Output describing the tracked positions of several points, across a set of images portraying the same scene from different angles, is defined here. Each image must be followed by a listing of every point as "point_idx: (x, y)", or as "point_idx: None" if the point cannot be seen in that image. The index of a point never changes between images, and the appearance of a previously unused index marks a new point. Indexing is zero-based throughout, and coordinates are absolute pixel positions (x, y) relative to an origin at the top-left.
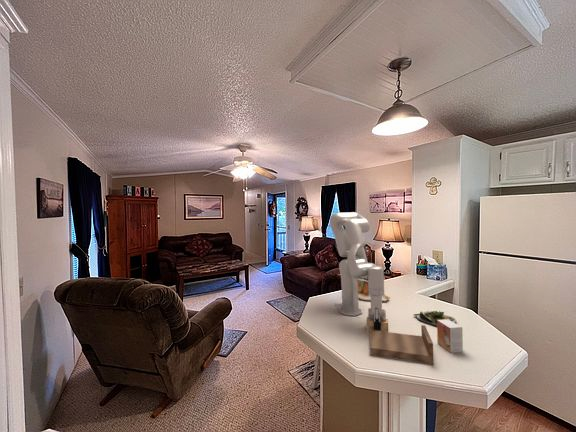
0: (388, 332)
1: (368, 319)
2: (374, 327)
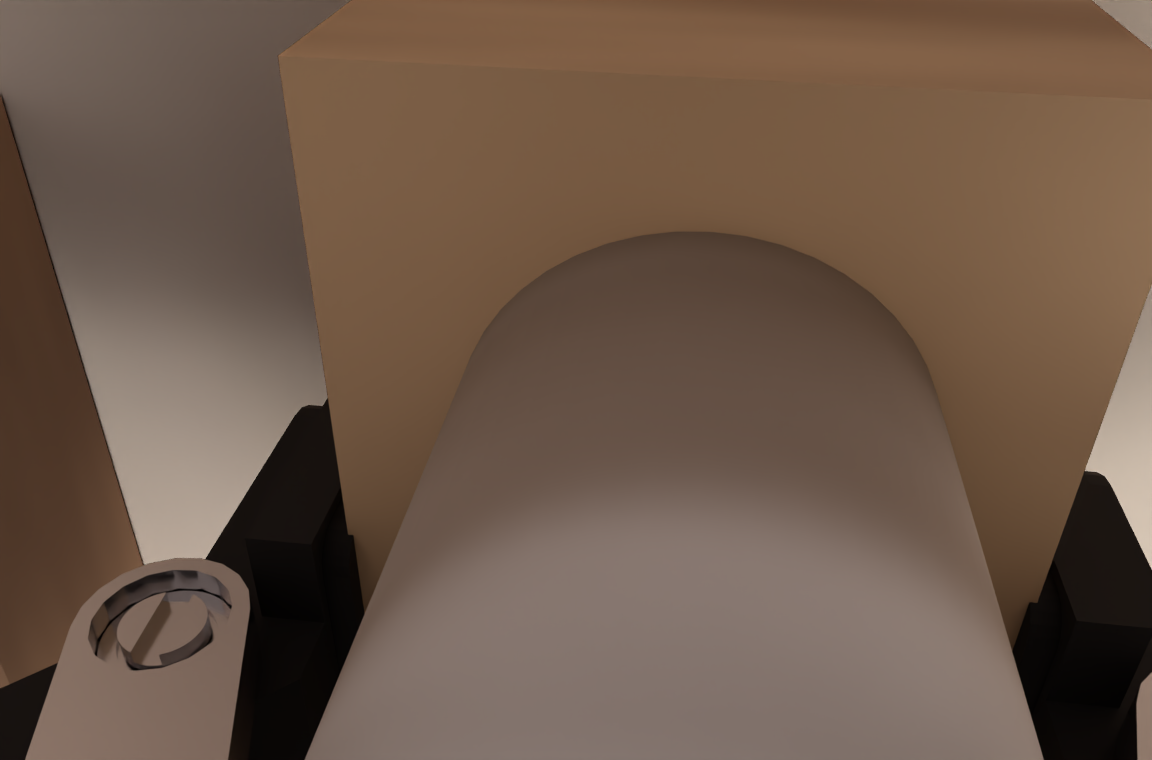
0: None
1: (576, 223)
2: None
